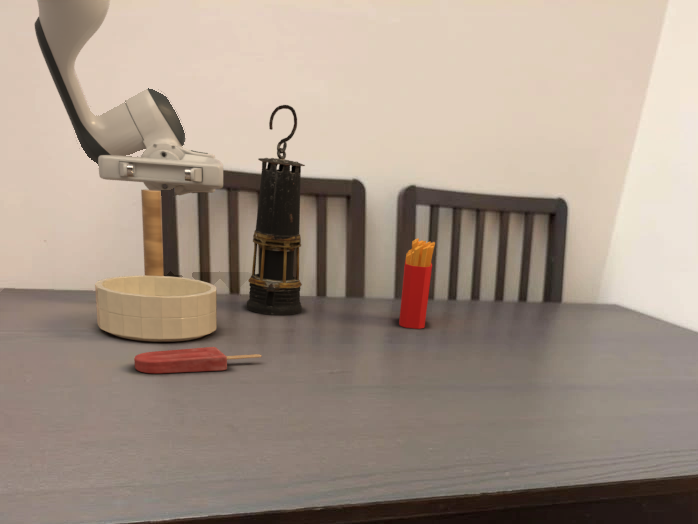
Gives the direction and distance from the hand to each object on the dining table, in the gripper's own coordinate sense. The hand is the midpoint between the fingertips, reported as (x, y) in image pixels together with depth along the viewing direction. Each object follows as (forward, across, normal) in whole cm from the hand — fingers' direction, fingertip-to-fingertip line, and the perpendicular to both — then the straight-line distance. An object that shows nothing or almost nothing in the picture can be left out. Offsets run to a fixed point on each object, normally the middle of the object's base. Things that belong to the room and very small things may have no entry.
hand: (159, 173), depth 116 cm
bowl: (+27, +1, +19) cm, 33 cm away
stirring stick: (+12, 0, +19) cm, 22 cm away
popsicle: (+44, +8, +19) cm, 49 cm away
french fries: (+16, +40, +19) cm, 47 cm away
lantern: (+9, +18, +19) cm, 28 cm away
